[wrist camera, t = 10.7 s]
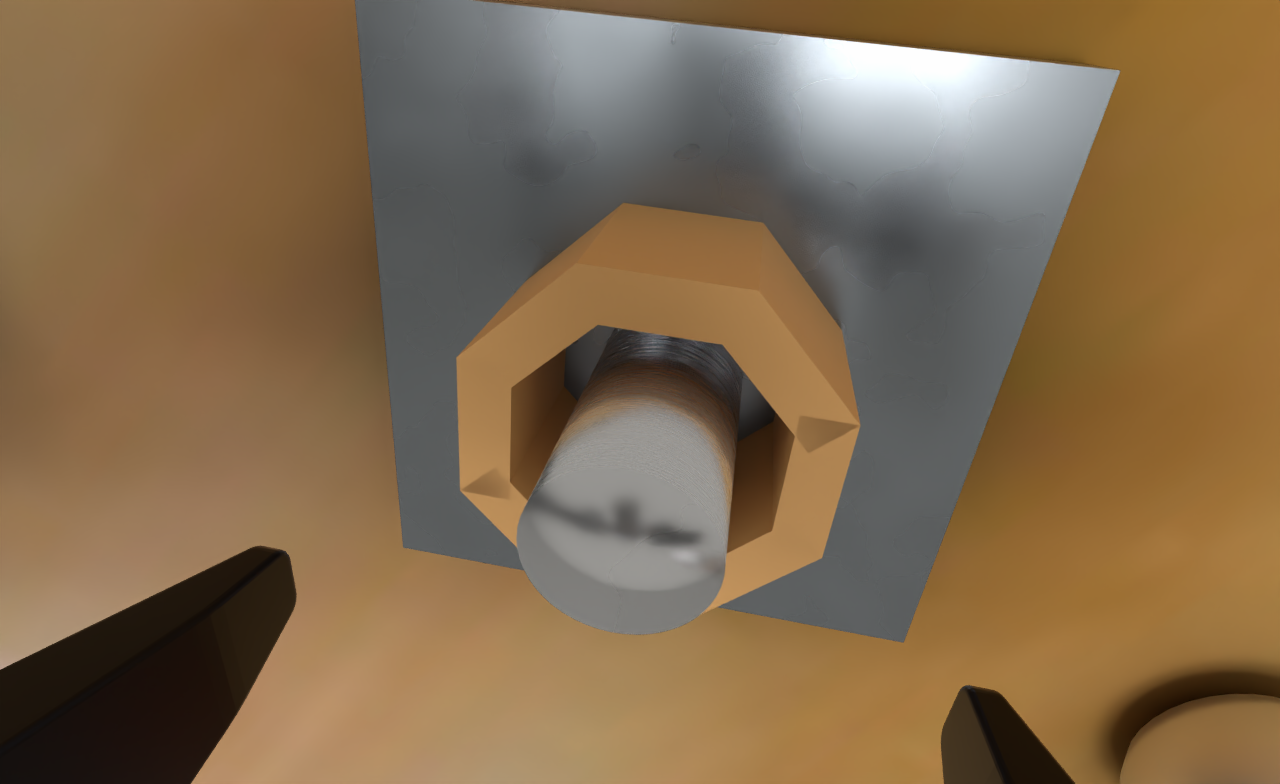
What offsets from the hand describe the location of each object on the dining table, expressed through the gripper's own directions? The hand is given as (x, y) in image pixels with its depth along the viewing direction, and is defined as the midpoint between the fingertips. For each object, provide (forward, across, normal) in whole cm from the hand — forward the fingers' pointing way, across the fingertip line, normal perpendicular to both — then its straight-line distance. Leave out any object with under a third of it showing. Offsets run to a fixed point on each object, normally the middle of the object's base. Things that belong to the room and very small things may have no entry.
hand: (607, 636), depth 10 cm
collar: (+8, 0, 0) cm, 8 cm away
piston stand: (+10, 0, 0) cm, 10 cm away
